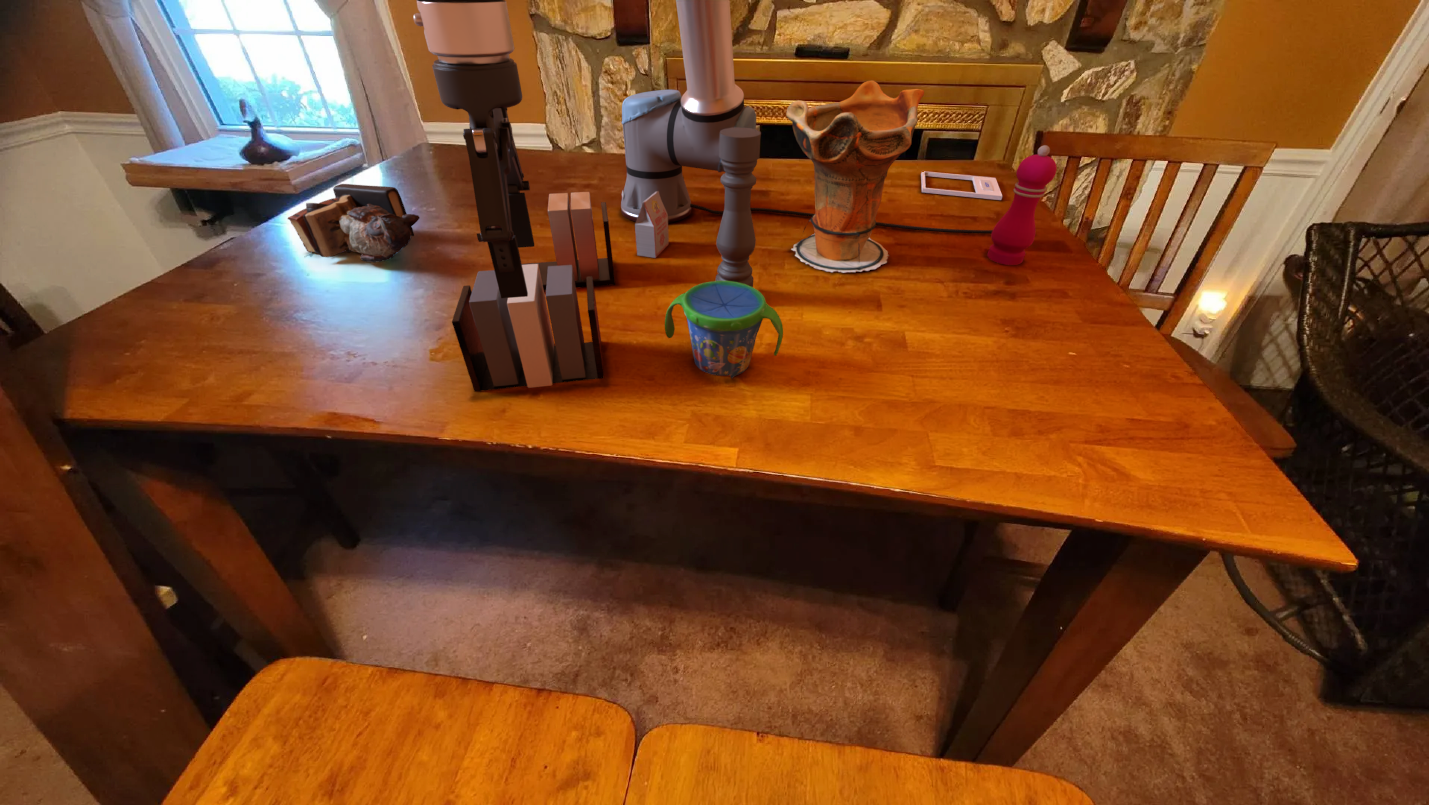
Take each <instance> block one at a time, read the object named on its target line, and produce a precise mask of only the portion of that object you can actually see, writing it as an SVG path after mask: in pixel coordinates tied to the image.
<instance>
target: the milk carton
mask: <svg viewBox="0 0 1429 805" xmlns="http://www.w3.org/2000/svg"><path fill="white" fill-rule="evenodd" d="M634 231H635V246H636V255H637V256H639V257H647V258H652V259H653V258H654V259H656V258H657V257H658V256H659V255H660V254H661V253H662V252H664V250H665V249H666V248H667V247H668V246H669V244H670V242H669V240H670V239H669V223H668V214H667V212H666V209H665V207H664V205H663V203H662V201H661V198H660V195H659V191H658V192H657V191H656V192H655V193H653V194H652V195H651V196H650V197H649V198H647V199H646V200H645V201H644V202H642V207H641V210H640V213H639V216H638V218H637V220H636V222H635V223H634Z"/></svg>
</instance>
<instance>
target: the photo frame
mask: <svg viewBox="0 0 1429 805" xmlns="http://www.w3.org/2000/svg"><path fill="white" fill-rule="evenodd" d="M923 171H924V170H923ZM926 177H934V178H943V179H944V178H945V179H953V180H954V179H956V180H963V181H964V180H965V181H972V184H973V188H974V191H975V192H972V191H963V190H962V191H961V190H953V189H943V188H932V187H926ZM920 182H921V183H920V184H921V193H923V194H925V193H926V194H938V195H944V196H945V195H946V196H956V197H966V198H974V199H975V198H976V199H986V200H996V201H1002V200H1003V194H1002V192H1001V188H1000V186H999V183H998V181H997V178H996V177H990V176H979V175H970V174H957V173H947V172H946V173H945V172H935V171H924V172H922V171H921V173H920Z"/></svg>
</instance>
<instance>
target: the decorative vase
mask: <svg viewBox="0 0 1429 805" xmlns="http://www.w3.org/2000/svg"><path fill="white" fill-rule="evenodd" d="M881 88H882V87H881V86H880V84H879V83H878V82H876V81H875V80H867V81H864V82H862V83H861V84H860V85H859V86H858V87H857V88H856V90H855V91H854V93H853V94H852V95H851V96H850V97H848V98H846V99H843V100H841V101H839V102H833V103H827V104H821V105H814V106H812V107H809V104H808V103H807V101H805V100H799V99H798V100H795V101H792V102H791V103H790V104H789V105H788V107H787V109H786V113H785V116H786V118H787V119H788V120H789V121H790V122H791V124H792V126H791V127H792V130H793V134H794V137H795V140H796V142H797V144H798V145H799V147H800V149H801V150H802V152H803V154H805V155H806V156H807V158H808V159H809V160H811V162H812V163H813V171H814V203H815V204H814V208H815V209H814V210H815V212H814V214H815V215H813V217H810V219H809V220H808V221H807V223H806V225H805V226H804V228H803V231H802V233H804V232H805V230H806V228H807V225H808V224H809V222H810V223H811V224H812V226H813V231H814V233H813V234H811V235H808V237H806V238H803V239H801V240H800V239H799V241H798V242H796V243H795V244H793V246H792V247H793V248H791V249H790V250H791V251H793V252H795V254H794V257H795V258H798V260H799V261H800V262H802V263H805V265H809V267H813V269H816V270H822V271H824V272H826V273H827V272H830V273H832V274H833V273H834V272H838V273H842V274H846V273H856V272H860V273H862V272H863V271H865V272H869V271H870V270H876V269H878V268H879V267H881V265H884V264H887V263H888V259H889V257H890V255H889V254H888V253H889V251H888V250H886V248H884V247H883V245H882V244H881V243H879V242H877V241H876V240H874V239H872V238H871V235H872V234H873V230H874V229H875V228H876V227H877V226H876V223H877V222H878V221H877V220H876V217H877V215H878V211H879V208H880V205H881V203H882V197H883V190H884V186H885V180H886V178H887V177H888V171H889V169H890V168H891V166H892V165H893V164H894V163H895V161H896V160H897V159H898V158H899V157H900V156H901V155H902V154H904V153H905V152H907V150H909V149H910V148H911V145H912V138H913V135H914V132H915V128H916V126H917V125H918V108H919V105H920V102H921V100H922V98H923V97H924V95H925V90H924V89H921V88H911V89H904V90H903V89H902V91H900V92H899V95H898V96H896V97H894V98H893V97H890V96H889V95H887V94H886V93H884V92H883V90H882V89H881Z"/></svg>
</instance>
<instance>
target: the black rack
mask: <svg viewBox="0 0 1429 805" xmlns="http://www.w3.org/2000/svg"><path fill="white" fill-rule="evenodd" d="M591 201H592V200H591V193H590V191H576V192H570V199H569V192H558V193H556V192H555V193H549V194H548V204H547V215H548V221H549V225H550V233H551V238H552V243H553V244H552V245H553V249H554V255H555V261H543V262H529V263H528V262H527V263H526V262H525V263H522V265H528V264H539V269H540V274H541V279H542V284H543V289H544V291H546V286H547V273H548V266H561V265H572V266H573V273H574V279H575V286H576V289H578V288H587V281H586V277H589V276H592V277H593V284H594V287H604V286H615V285H616V279H615V270H614V269H615V268H614V260H613V259H614V258H613V252H612V241H611V232H610V224H609V214H608V209H607V202H606V201H602V202H601V201H600V205H601V214H602V223H603V232H604V240H605V241H604V242H605V249H606V257H601V258H598V257H599V256H598V250H597V242H596V233H595V226H594V217H593V209H592V202H591ZM491 228H501V227H500V226H491Z"/></svg>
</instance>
